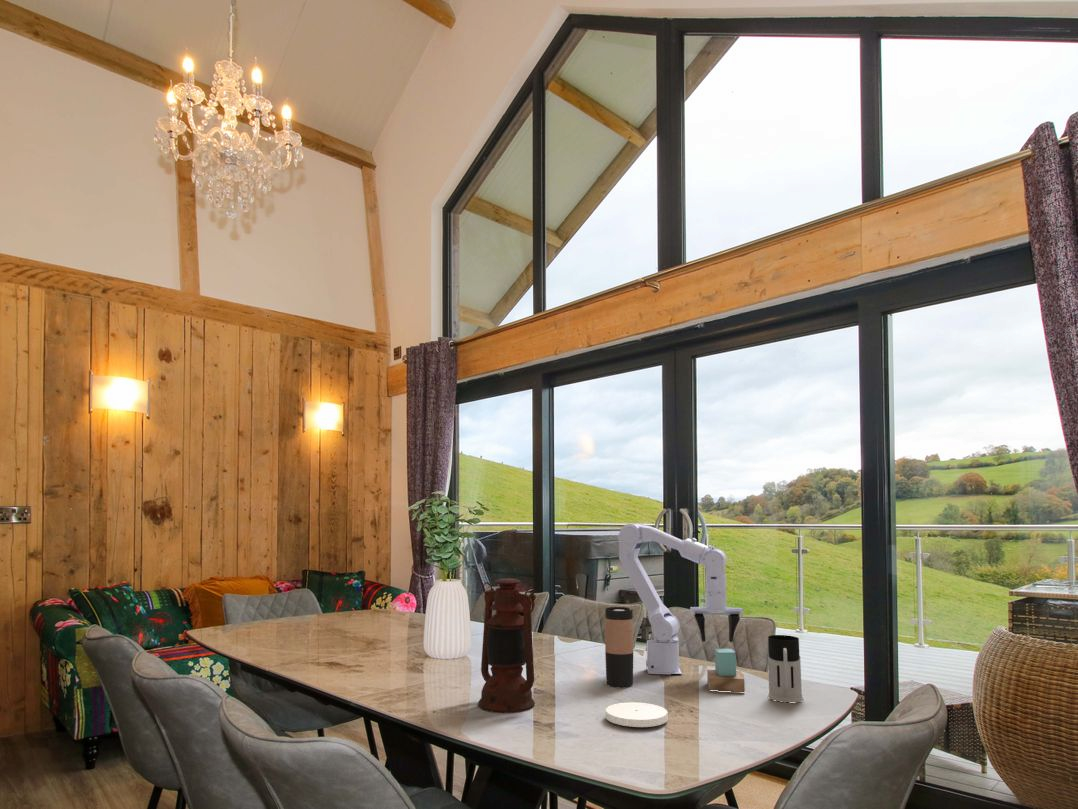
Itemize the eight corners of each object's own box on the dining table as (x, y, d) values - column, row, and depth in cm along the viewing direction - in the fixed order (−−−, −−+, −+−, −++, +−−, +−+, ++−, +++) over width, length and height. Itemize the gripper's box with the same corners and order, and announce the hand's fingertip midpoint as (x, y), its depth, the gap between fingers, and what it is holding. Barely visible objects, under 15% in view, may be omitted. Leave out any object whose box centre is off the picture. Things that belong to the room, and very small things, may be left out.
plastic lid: (627, 710, 178) (626, 699, 178) (679, 721, 169) (678, 709, 170) (593, 723, 167) (593, 711, 168) (647, 736, 159) (647, 723, 159)
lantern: (461, 704, 181) (463, 579, 185) (500, 693, 192) (501, 574, 195) (514, 718, 170) (515, 584, 174) (552, 705, 180) (552, 579, 184)
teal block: (719, 675, 196) (718, 652, 197) (715, 671, 201) (714, 648, 201) (736, 675, 196) (735, 652, 197) (732, 671, 201) (731, 648, 201)
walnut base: (709, 693, 194) (708, 677, 194) (707, 684, 203) (707, 669, 203) (744, 695, 192) (744, 679, 193) (741, 686, 201) (741, 671, 202)
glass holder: (802, 695, 191) (800, 635, 192) (806, 710, 177) (804, 645, 179) (767, 693, 193) (765, 633, 195) (768, 707, 179) (766, 643, 181)
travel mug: (601, 685, 200) (600, 609, 202) (611, 679, 206) (611, 606, 209) (627, 689, 196) (627, 611, 199) (637, 683, 203) (637, 608, 205)
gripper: (692, 593, 209) (693, 643, 208) (744, 594, 208) (745, 644, 206) (689, 590, 216) (690, 638, 215) (739, 591, 215) (741, 639, 213)
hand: (717, 641), depth 211 cm, fingers open, 7 cm apart
